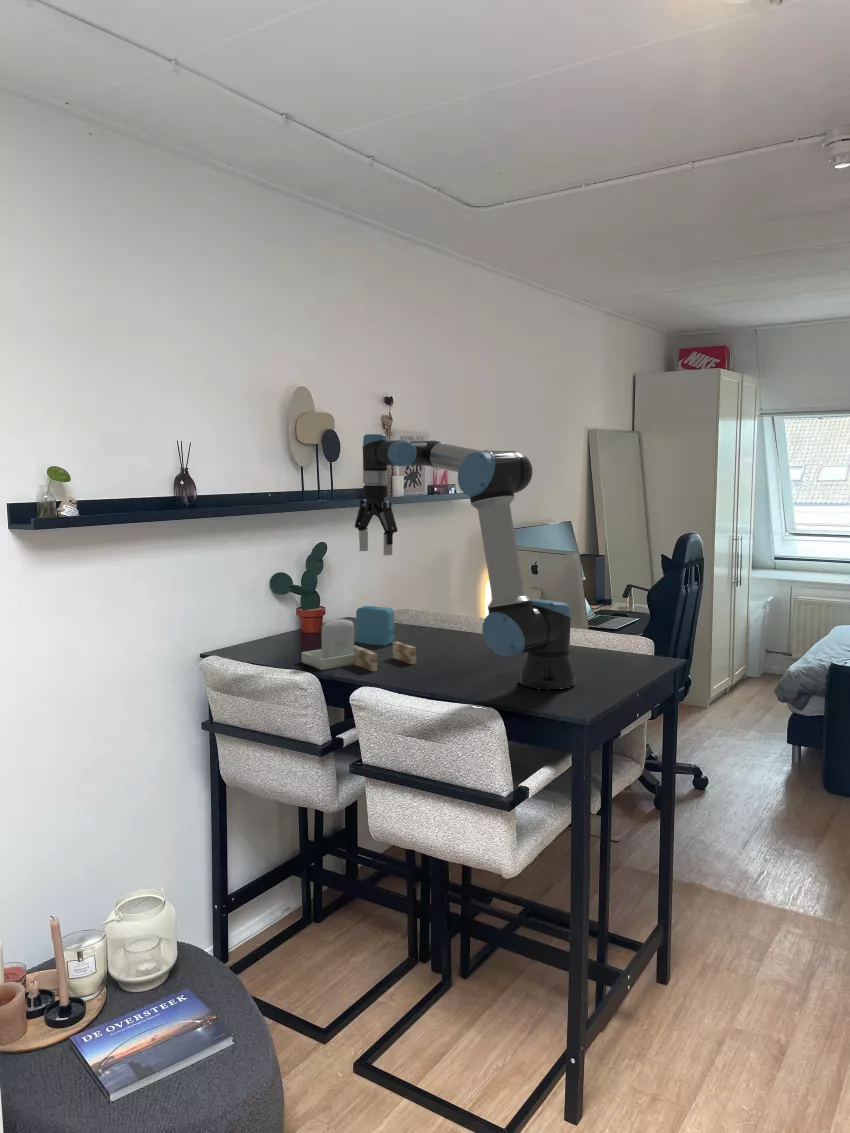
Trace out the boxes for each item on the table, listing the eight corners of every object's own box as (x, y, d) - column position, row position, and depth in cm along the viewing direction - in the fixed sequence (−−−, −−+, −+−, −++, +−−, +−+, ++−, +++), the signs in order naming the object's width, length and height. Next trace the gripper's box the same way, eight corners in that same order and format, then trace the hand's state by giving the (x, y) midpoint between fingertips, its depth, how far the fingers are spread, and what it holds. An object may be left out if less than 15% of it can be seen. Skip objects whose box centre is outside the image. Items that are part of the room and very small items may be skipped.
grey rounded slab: (349, 656, 262) (348, 616, 260) (356, 658, 258) (356, 618, 257) (319, 660, 256) (319, 620, 254) (326, 663, 252) (326, 622, 251)
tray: (373, 661, 258) (373, 651, 258) (321, 670, 247) (321, 660, 247) (352, 653, 267) (352, 644, 267) (301, 662, 257) (301, 652, 256)
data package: (394, 643, 282) (394, 608, 280) (388, 646, 278) (388, 610, 276) (362, 640, 287) (362, 605, 285) (356, 643, 282) (355, 607, 281)
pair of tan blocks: (416, 663, 255) (416, 647, 255) (372, 671, 246) (372, 654, 245) (397, 657, 263) (397, 641, 262) (354, 664, 254) (354, 648, 253)
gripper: (408, 485, 254) (408, 556, 257) (363, 483, 274) (364, 548, 277) (388, 486, 250) (388, 557, 253) (343, 483, 270) (344, 550, 273)
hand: (375, 553), depth 265 cm, fingers open, 13 cm apart
